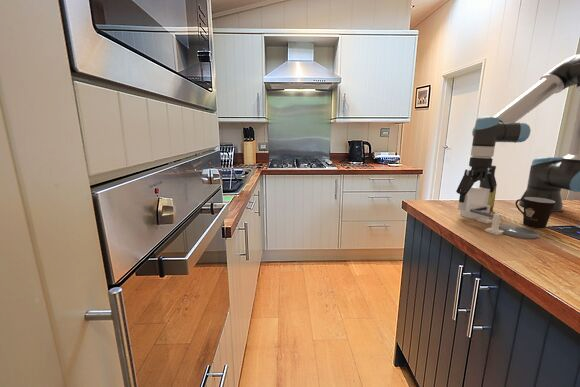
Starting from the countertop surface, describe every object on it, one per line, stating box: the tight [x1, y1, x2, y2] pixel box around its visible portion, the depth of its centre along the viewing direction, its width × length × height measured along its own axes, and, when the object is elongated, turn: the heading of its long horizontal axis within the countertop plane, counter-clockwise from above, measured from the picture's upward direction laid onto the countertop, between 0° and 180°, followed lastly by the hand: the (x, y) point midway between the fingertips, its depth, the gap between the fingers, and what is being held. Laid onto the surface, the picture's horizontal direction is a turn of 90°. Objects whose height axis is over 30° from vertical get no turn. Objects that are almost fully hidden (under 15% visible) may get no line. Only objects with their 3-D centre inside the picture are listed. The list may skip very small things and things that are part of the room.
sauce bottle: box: [479, 164, 498, 212], centre depth 124 cm, size 6×6×20 cm
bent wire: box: [470, 207, 495, 219], centre depth 103 cm, size 10×10×1 cm
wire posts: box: [475, 205, 504, 236], centre depth 103 cm, size 18×6×6 cm, turn 159°
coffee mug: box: [515, 197, 555, 230], centre depth 106 cm, size 12×9×10 cm
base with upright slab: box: [459, 185, 490, 220], centre depth 116 cm, size 9×9×12 cm
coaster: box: [499, 224, 540, 240], centre depth 98 cm, size 12×12×1 cm
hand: (472, 208), depth 117 cm, fingers open, 13 cm apart
